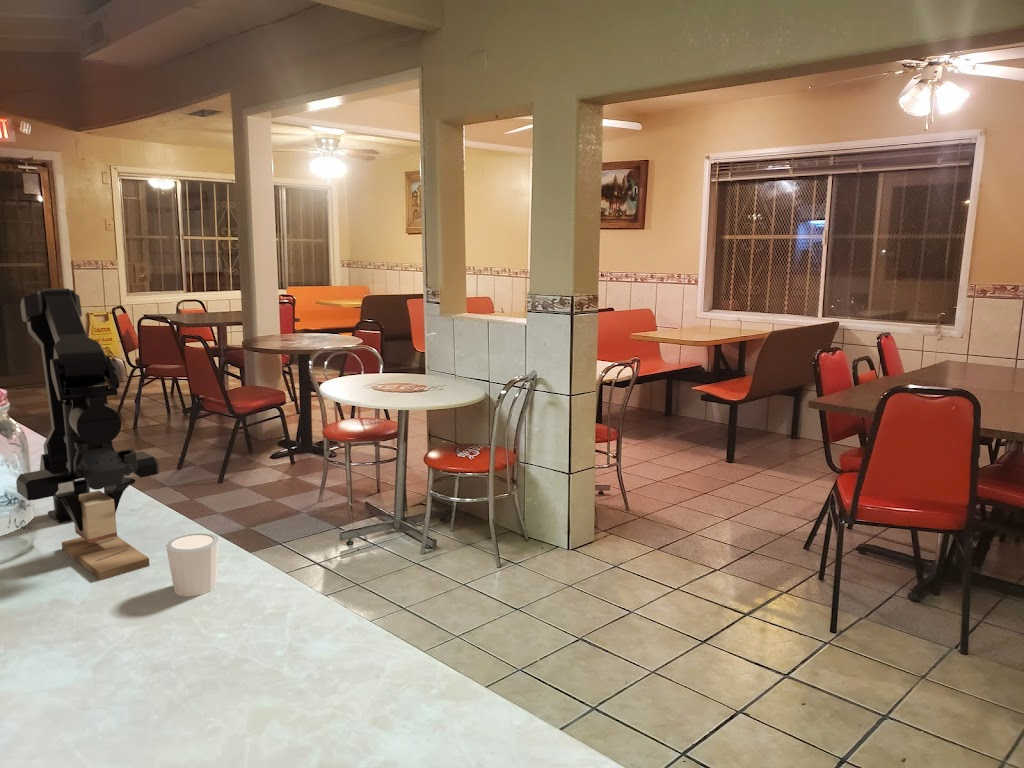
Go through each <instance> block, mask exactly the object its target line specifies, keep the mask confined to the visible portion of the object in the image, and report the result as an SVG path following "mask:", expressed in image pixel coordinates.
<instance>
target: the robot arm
mask: <svg viewBox="0 0 1024 768" xmlns="http://www.w3.org/2000/svg"><path fill="white" fill-rule="evenodd" d="M80 298H81V297H80V295H79V294H76V292H75V290H74V289H69V288H43V289H42V290H38V291H37V292H36V293H33V294H28V295H26V296H25V295H24V296H23V297H22V299H21V301H20V313H21V320H22V321H23V323H25V322H26V325H27V331H28V333H29V335H30V336H31V337H32V338H33V339H34V341H35V342H37V344H38V345H39V346H40V349H41V358H42V365H43V373H44V378H45V379H44V380H45V381H44V382H45V388H46V394H47V402H48V403H47V404H48V410H49V417H50V425H51V429H50V432H49V434H48V436H47V437H46V440H45V441H44V442H43V454H40V465H39V470H35V471H31V472H24V473H20V474H19V476H18V477H17V478H16V491H17V493H18V494H19V495H21V497H23V498H25V499H26V500H27V501H35V500H42V499H45V498H50V497H52V499H53V500H52V501H53V510H49V511H47V515H48V516H49V517H50V518H52V519H53V520H55V521H56V522H58V523H59V524H63V523H67V522H71V521H72V522H73V523H74V526H75V525H76V527H77V529H78V530H79V531H82V530H83V522H82V517H81V511H80V506H79V501H78V499H79V495H81V494H85V493H90V492H91V489H92V490H94V491H96V490H97V491H99V490H101V489H102V490H103V493H104V494H106V495H108V496H109V497H111V498H112V499H114V505H115V515H116V513H117V510H118V506H119V503H120V501H121V499H122V496H123V494H124V491H125V490H126V489H127V488H128V487H129V486H130V485H134V484H135V483H136V479H134V478H132V475H133V474H135V475H136V476H138V477H139V478H145V477H151V476H155V475H159V473H160V467H159V466H160V465H159V462H158V458H156V457H154V456H152V455H151V454H148V453H146V452H145V451H139V452H138V451H137V452H136V451H135V450H134V449H133V448H128V449H122V450H119V451H115V448H114V446H113V441H114V440H115V439H116V438H117V436H118V435H119V433H120V432H121V428H122V420H121V417H120V415H119V413H118V412H117V411H116V410H115V409H114V408H112V407H111V406H110V405H109V404H108V397H110V396H111V397H112V396H118V395H119V393H118V389H119V388H120V381H119V377H118V374H117V370H116V367H115V364H114V362H113V361H112V360H111V356H109V355H108V354H106V353H105V351H104V349H103V347H102V345H101V343H99V341H96V340H94V339H92V338H90V337H89V336H88V335H87V333H86V332H87V331H86V329H85V327H84V325H83V322H82V319H81V318H82V316H83V313H82V312H83V311H82V306H81V305H82V304H81V299H80ZM106 382H107V385H106Z"/></svg>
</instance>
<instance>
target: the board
mask: <svg viewBox="0 0 1024 768" xmlns="http://www.w3.org/2000/svg"><path fill="white" fill-rule="evenodd" d="M61 548H62V550H63V551H64V550H65V551H66V552H65V551H64V552H65V553H67V554H68V555H69V554H70V555H71V556H72V558H73V559H74V560H75V559H76V560H77V561H76V560H75V561H76V562H77V563H79V564H80V565H81V564H82V565H83V566H82V565H81V566H82V567H83V568H85V569H86V570H88V571H89V572H90V574H92V575H94V577H96V578H97V579H99V580H100V581H102V580H105V579H108V578H111V577H115V576H118V575H119V576H120V575H121V574H125V573H129V572H133V571H136V570H138V569H143V568H146V567H149V566H150V558H149V557H148V556H147V555H145V554H144V553H142V552H141V551H139V550H138V549H136V548H135V547H134V546H132V545H130V543H127V542H126V541H125V540H124V539H122V538H120V537H119V536H118V535H117V536H115V537H111V538H107V539H103V540H99V541H95V542H91V543H89V542H88V541H86V540H85V539H84V538H82V537H81V536H79V537H76V538H72V539H68V540H64V541H61ZM70 555H69V556H70ZM71 556H70V557H71Z"/></svg>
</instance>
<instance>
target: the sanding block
mask: <svg viewBox="0 0 1024 768" xmlns="http://www.w3.org/2000/svg"><path fill="white" fill-rule="evenodd" d="M78 501H79V506H80V511H81V517H82V522H83V530H82V531H79V530H78V529H77V527H76V525H75V524H74V529H75V533H76V535H78V536H79V537H82V538H84V539H85V540H86V541H88V542H89V543H91V542H95V541H99V540H103V539H107V538H111V537H115V536H118V531H117V519H116V514H115V505H114V499H112V498H111V497H109V496H108V495H106V494H104V491H101V489H98V490H97V491H96V490H94V491H90V493H85V494H81V495H79V499H78Z"/></svg>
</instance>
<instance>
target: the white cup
mask: <svg viewBox="0 0 1024 768" xmlns="http://www.w3.org/2000/svg"><path fill="white" fill-rule="evenodd" d="M219 541H220V540H219V537H218V536H217V535H215V534H212V533H206V532H205V533H204V532H201V533H199V532H196V533H188V534H182V535H180V536H177V537H174V538H173V539H171V540H169V541H168V542H167V543H166V545H165V547H166V552H167V559H168V563H169V570H170V575H171V580H172V585H173V591H174V592H175V593H174V594H175V595H178V596H180V597H198V596H202V595H205V594H207V593H210V592H212V591H214V590H215V589H216V587H217V585H218V569H219V568H218V564H219Z"/></svg>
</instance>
